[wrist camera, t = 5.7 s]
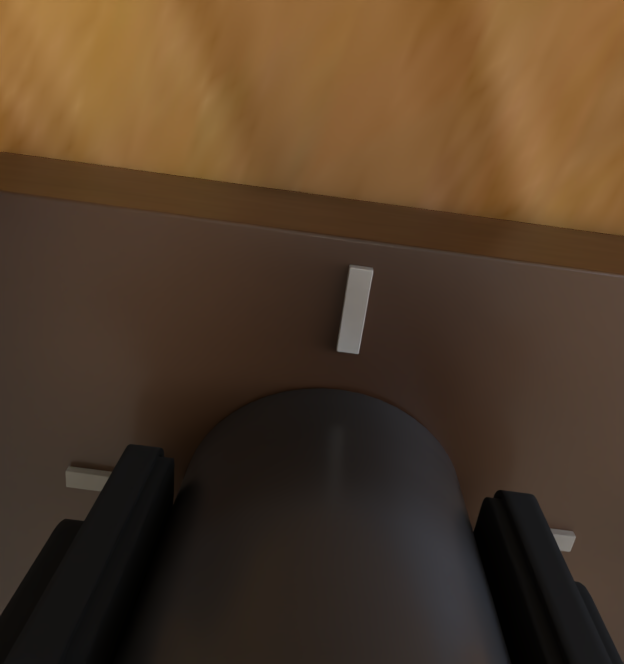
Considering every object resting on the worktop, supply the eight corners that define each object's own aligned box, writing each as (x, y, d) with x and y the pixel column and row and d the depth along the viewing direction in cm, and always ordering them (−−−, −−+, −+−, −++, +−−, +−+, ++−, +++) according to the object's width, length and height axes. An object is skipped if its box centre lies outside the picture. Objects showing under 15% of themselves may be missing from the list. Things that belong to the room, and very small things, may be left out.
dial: (190, 367, 10) (8, 729, 4) (492, 409, 10) (675, 814, 4) (177, 590, 12) (43, 1021, 6) (427, 623, 12) (500, 1077, 6)
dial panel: (33, 545, 15) (-38, 654, 13) (-2, 150, 11) (-117, 177, 8) (561, 612, 16) (612, 735, 13) (713, 247, 12) (838, 306, 9)
